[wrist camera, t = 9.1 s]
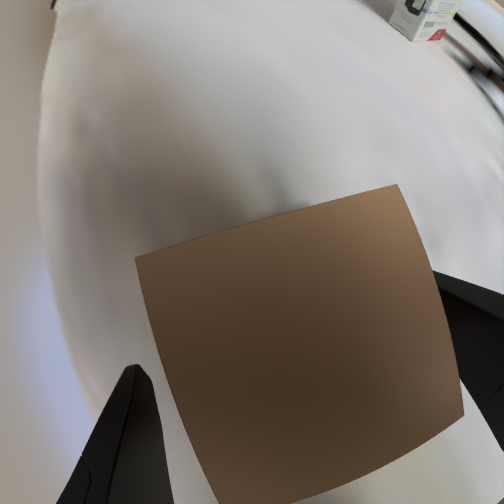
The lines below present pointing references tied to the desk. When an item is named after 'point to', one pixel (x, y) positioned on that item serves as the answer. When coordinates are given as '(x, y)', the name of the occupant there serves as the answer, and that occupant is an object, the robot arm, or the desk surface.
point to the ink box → (423, 18)
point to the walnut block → (304, 346)
